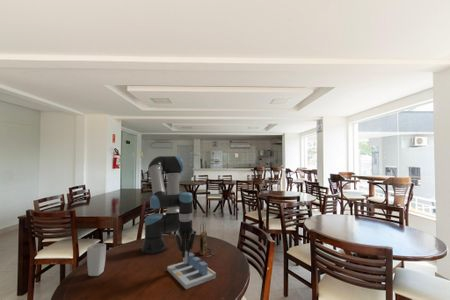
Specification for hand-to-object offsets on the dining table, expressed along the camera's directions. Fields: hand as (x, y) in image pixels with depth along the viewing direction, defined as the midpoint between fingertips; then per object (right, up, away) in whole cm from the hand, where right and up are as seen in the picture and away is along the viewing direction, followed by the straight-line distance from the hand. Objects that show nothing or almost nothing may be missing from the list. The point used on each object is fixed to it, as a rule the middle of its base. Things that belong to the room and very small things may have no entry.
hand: (185, 262), depth 126 cm
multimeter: (+12, -5, +21) cm, 24 cm away
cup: (-47, -3, -6) cm, 47 cm away
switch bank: (+4, -3, -6) cm, 8 cm away
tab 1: (+3, -1, +2) cm, 4 cm away
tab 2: (+7, -1, -4) cm, 8 cm away
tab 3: (+11, -1, -9) cm, 14 cm away
